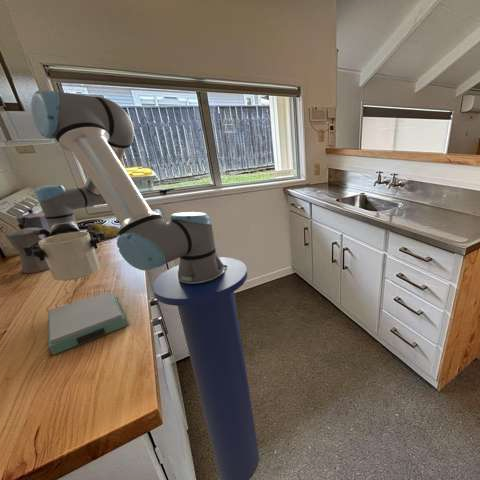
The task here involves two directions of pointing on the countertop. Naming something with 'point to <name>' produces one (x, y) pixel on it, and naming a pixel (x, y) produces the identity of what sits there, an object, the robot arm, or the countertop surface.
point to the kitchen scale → (83, 321)
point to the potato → (105, 230)
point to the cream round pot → (70, 255)
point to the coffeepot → (22, 240)
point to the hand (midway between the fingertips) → (69, 250)
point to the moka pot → (34, 221)
